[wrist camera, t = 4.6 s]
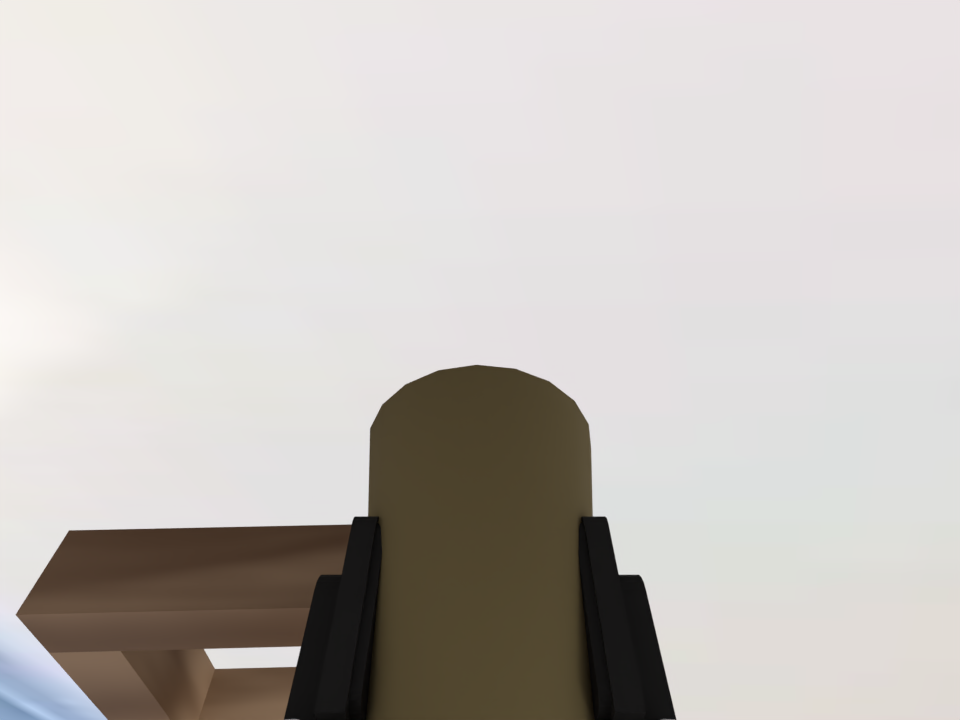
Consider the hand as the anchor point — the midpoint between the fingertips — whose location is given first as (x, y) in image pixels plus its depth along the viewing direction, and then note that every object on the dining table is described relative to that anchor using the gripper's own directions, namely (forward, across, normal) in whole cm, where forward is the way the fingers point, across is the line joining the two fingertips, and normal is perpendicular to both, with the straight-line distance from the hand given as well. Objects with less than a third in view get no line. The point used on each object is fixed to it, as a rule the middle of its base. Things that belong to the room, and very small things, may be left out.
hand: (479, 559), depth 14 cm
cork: (+4, 0, 0) cm, 4 cm away
